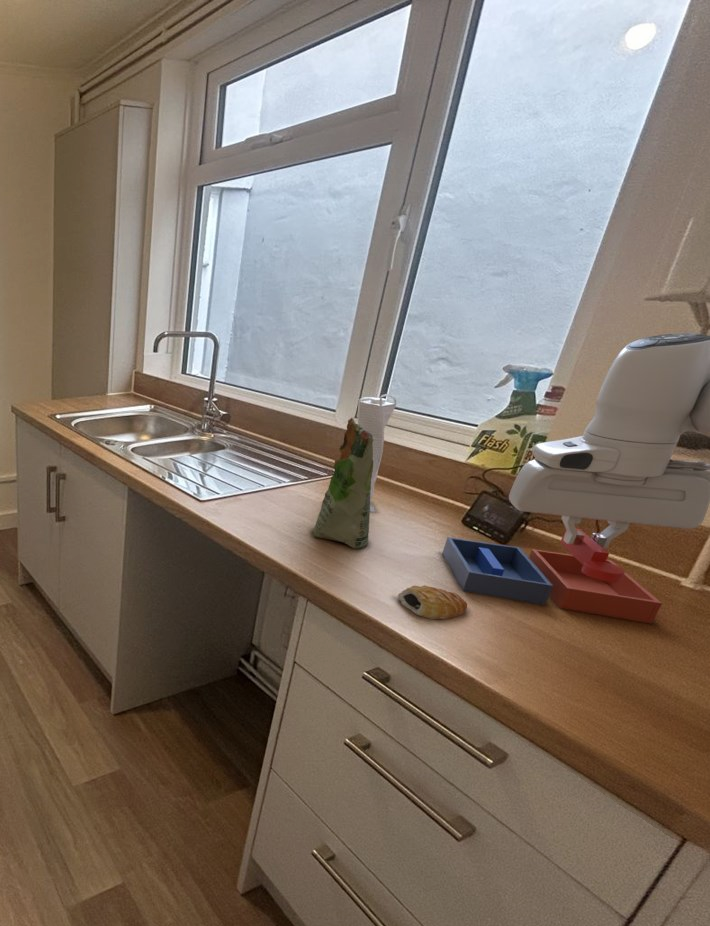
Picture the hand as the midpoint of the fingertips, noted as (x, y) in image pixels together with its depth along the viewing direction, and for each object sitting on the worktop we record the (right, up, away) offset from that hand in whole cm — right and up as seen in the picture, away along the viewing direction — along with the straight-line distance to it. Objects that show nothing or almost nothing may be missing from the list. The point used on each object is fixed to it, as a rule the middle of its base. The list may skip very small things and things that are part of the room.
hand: (584, 544), depth 78 cm
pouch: (-18, -1, +33) cm, 38 cm away
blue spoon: (0, -7, +17) cm, 18 cm away
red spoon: (-1, -3, -1) cm, 3 cm away
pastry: (-17, -11, +9) cm, 22 cm away
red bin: (+12, -9, +12) cm, 20 cm away
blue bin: (+1, -8, +17) cm, 19 cm away
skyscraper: (-5, +5, +49) cm, 50 cm away
